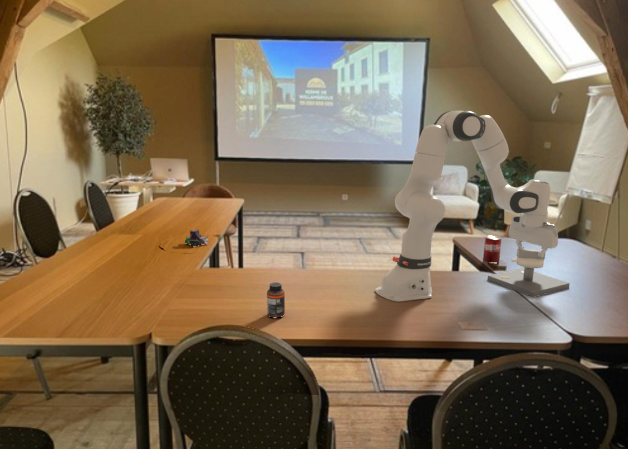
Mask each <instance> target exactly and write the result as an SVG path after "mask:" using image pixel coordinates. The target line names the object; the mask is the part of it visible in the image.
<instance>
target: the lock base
mask: <svg viewBox="0 0 628 449" xmlns="http://www.w3.org/2000/svg"><path fill="white" fill-rule="evenodd" d="M487 281H489V282H492V283H495V284H497V285H500V286H503V287H505V288H508V289H511V290H513V291H516V292H519V293H522V294H525V295H527V294H528V295H527V296H529V295H530V297H532V296H533V297H532V298H535V296H536V297H539V296H538V295H540V296H543V294H544V295H547V294H550V293H555V292H559V291H562V290H565V289H566V290H567V289H570V282H568V281H565V280H562V279H558V278H555V277H552V276H549V275H546V274H542V273H539V272H537V271H536V272H535V268H527V267H522V268H521V267H520V268H516V269H512V270H508V271H504V272H498V273H494V274H490V275H487Z"/></svg>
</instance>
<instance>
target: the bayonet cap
mask: <svg viewBox="0 0 628 449" xmlns="http://www.w3.org/2000/svg"><path fill="white" fill-rule="evenodd" d="M542 250H543V249H533V248H531V249H529V248H524V249H518V248H517V250H516V258H511V262H512V263H516V265H517V266H520V267H522V268H524V267H527V268H534V269H541V268H544V264H545V263H544V261H545V259H546V252H545V253H544V257H539V256H538V252H541V251H542Z"/></svg>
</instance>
